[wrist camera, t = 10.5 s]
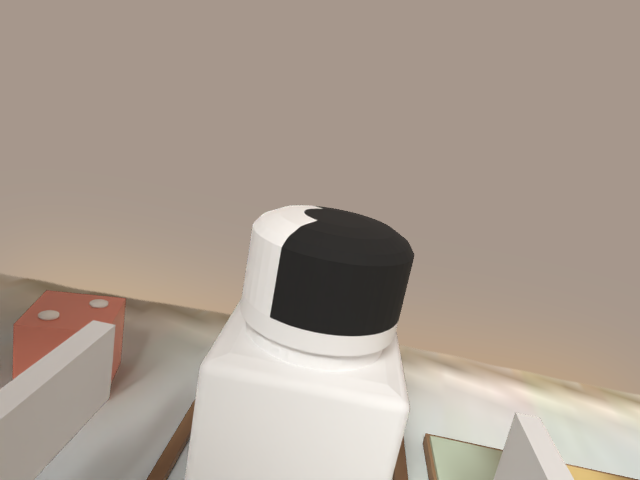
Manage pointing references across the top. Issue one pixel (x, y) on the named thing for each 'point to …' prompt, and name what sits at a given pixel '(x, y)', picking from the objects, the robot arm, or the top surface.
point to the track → (480, 462)
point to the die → (63, 325)
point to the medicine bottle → (308, 355)
